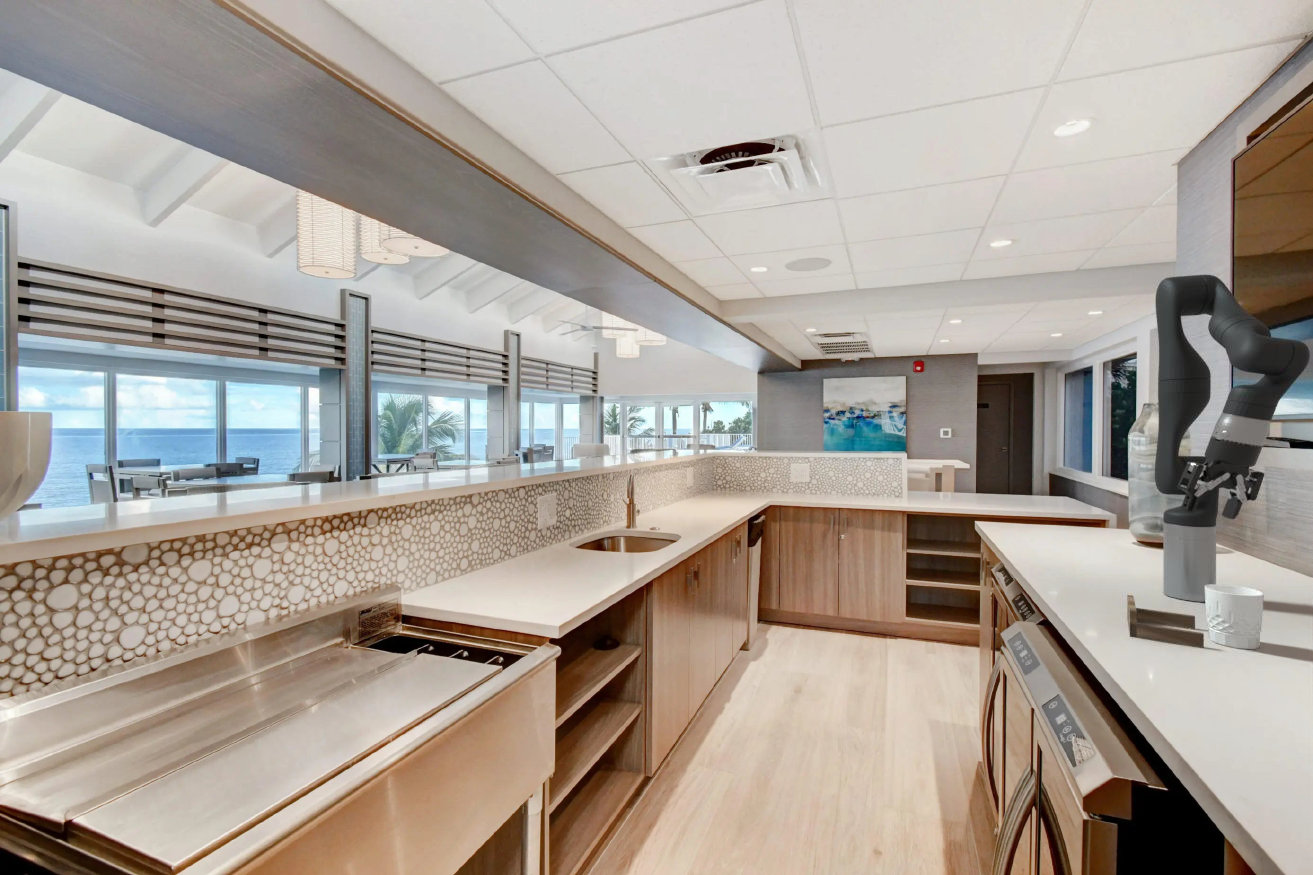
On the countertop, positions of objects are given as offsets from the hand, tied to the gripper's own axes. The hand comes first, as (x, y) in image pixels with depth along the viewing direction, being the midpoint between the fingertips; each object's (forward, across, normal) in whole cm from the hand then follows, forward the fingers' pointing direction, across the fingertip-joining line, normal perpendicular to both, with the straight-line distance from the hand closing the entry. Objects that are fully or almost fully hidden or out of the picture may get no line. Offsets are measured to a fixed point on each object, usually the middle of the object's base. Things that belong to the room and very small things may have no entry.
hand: (1207, 515), depth 120 cm
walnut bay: (+22, +9, +10) cm, 26 cm away
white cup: (+20, +2, +15) cm, 25 cm away
